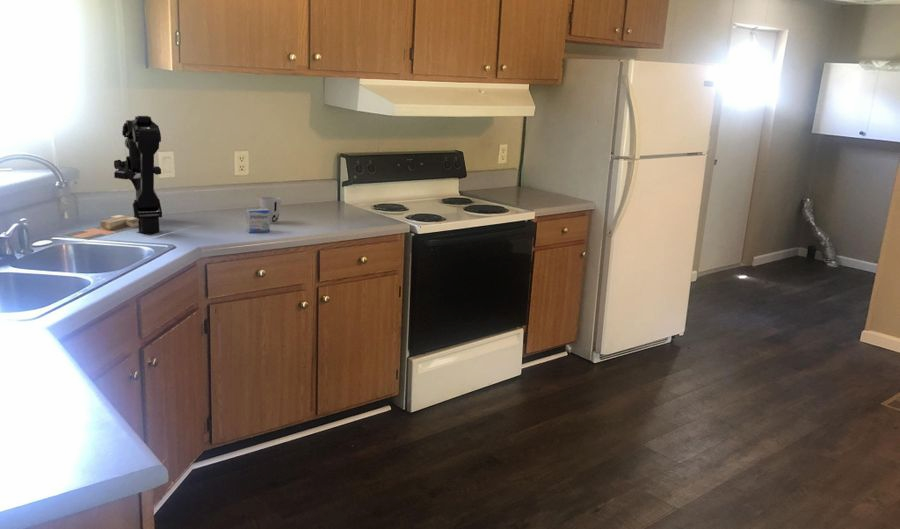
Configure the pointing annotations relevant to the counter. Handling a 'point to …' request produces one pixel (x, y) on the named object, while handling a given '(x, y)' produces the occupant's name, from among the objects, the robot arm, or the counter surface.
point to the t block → (119, 222)
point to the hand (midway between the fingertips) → (139, 194)
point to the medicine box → (258, 220)
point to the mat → (95, 232)
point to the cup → (271, 207)
